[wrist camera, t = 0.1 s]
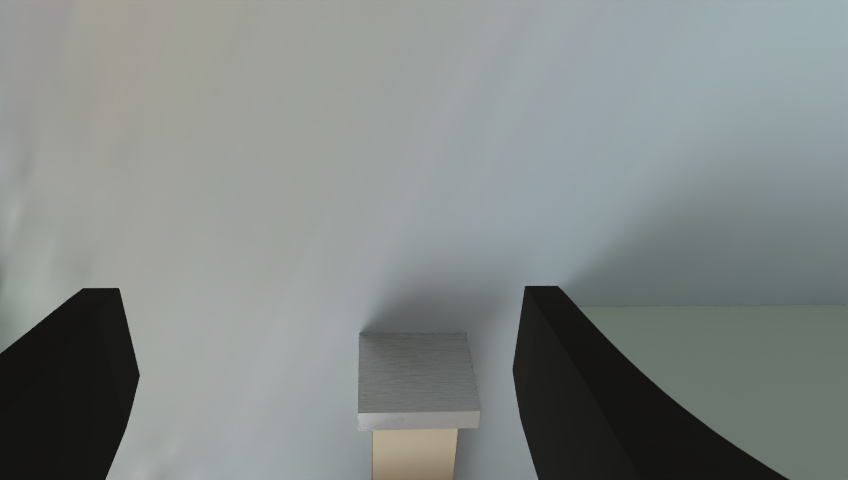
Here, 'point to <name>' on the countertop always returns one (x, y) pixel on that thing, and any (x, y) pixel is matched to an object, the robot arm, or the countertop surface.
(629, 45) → the countertop surface
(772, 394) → the tile
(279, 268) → the countertop surface
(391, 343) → the capped square post
